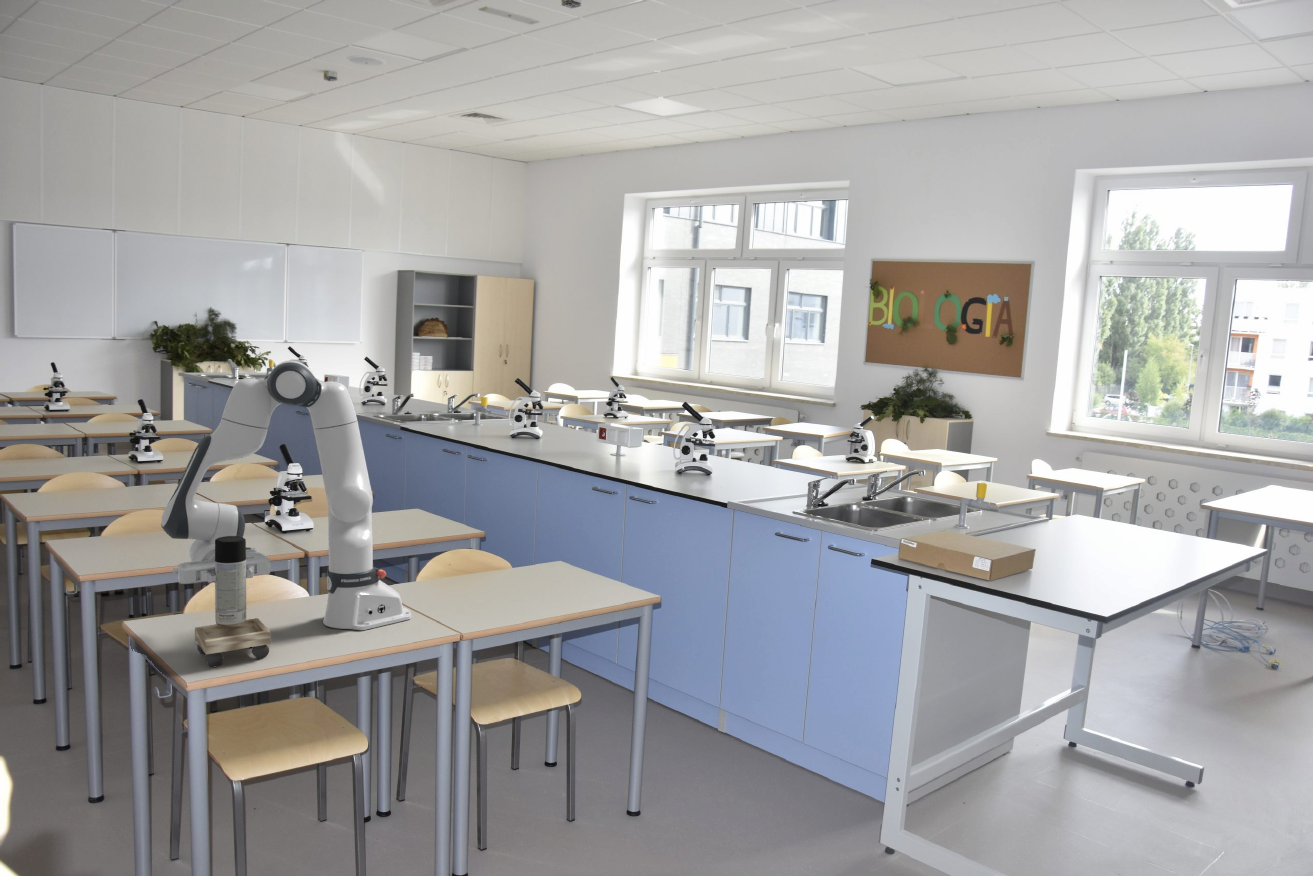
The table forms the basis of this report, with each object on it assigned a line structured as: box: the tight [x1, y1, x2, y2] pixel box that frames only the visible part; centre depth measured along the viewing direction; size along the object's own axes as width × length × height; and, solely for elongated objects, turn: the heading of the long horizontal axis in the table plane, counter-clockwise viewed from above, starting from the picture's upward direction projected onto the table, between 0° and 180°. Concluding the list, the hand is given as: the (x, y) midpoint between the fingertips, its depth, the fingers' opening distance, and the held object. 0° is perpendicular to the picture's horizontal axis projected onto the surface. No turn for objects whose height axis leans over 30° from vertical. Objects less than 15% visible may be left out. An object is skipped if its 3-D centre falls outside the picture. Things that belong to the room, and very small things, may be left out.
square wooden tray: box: [194, 617, 272, 668], centre depth 223 cm, size 14×12×6 cm
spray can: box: [214, 536, 247, 626], centre depth 221 cm, size 7×7×20 cm
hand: (231, 576), depth 220 cm, fingers closed on spray can, 7 cm apart
